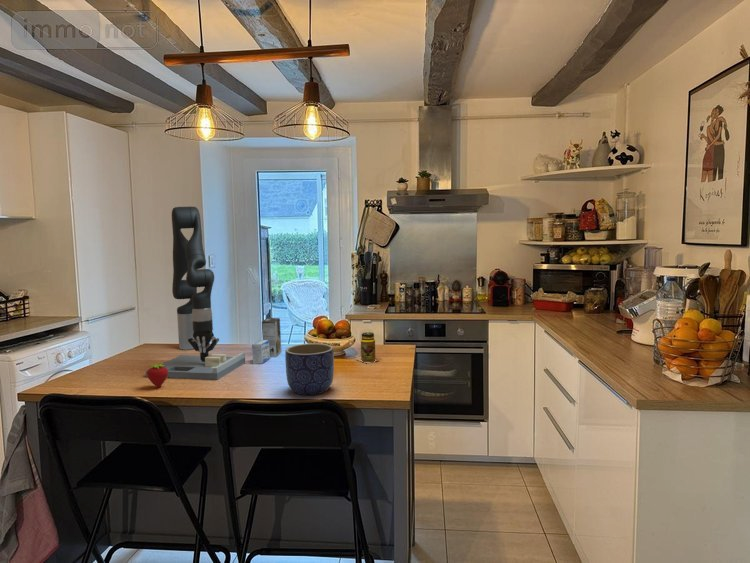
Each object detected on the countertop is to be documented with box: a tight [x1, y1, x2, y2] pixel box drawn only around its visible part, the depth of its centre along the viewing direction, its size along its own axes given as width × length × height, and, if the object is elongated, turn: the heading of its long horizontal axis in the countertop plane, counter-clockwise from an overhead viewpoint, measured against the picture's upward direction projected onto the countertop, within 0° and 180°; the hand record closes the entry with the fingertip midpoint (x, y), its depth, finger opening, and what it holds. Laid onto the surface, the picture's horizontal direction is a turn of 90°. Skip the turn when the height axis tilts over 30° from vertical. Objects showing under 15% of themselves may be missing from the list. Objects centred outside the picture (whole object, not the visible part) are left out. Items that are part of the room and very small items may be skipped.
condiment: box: [360, 332, 376, 363], centre depth 206 cm, size 7×8×12 cm
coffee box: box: [261, 317, 282, 358], centre depth 219 cm, size 9×6×16 cm
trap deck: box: [144, 352, 246, 381], centre depth 197 cm, size 24×30×4 cm
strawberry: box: [147, 360, 168, 388], centre depth 175 cm, size 6×8×10 cm
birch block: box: [205, 353, 227, 367], centre depth 195 cm, size 6×6×4 cm
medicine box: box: [251, 339, 271, 365], centre depth 208 cm, size 8×4×9 cm, turn 168°
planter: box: [284, 342, 335, 395], centre depth 168 cm, size 17×17×15 cm
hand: (204, 361), depth 196 cm, fingers closed
